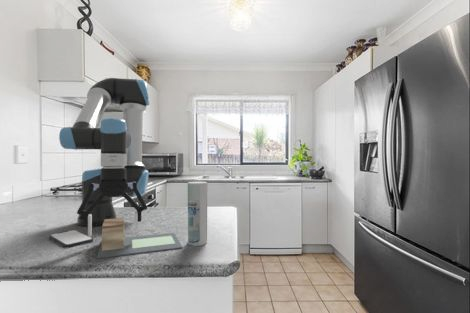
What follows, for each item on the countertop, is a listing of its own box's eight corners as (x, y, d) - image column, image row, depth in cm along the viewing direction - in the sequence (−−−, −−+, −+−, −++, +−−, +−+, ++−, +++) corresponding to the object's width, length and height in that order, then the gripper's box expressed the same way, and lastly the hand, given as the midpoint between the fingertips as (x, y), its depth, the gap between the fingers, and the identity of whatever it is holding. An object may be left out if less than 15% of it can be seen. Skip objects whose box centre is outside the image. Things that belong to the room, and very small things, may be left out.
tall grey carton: (183, 242, 91) (183, 182, 90) (198, 238, 95) (198, 181, 95) (196, 247, 86) (196, 183, 86) (211, 242, 91) (211, 182, 91)
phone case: (94, 243, 92) (75, 233, 102) (94, 238, 92) (75, 229, 102) (65, 250, 85) (47, 239, 95) (65, 245, 85) (47, 234, 95)
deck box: (104, 240, 91) (104, 219, 91) (124, 238, 93) (124, 217, 93) (102, 250, 82) (102, 226, 82) (123, 248, 84) (123, 224, 84)
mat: (101, 241, 92) (101, 239, 92) (173, 233, 101) (173, 232, 101) (96, 258, 76) (96, 257, 76) (182, 248, 85) (182, 246, 85)
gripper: (66, 168, 80) (66, 241, 80) (155, 167, 89) (155, 232, 89) (71, 167, 87) (71, 234, 87) (153, 166, 96) (153, 227, 96)
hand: (113, 233), depth 88 cm, fingers open, 13 cm apart
